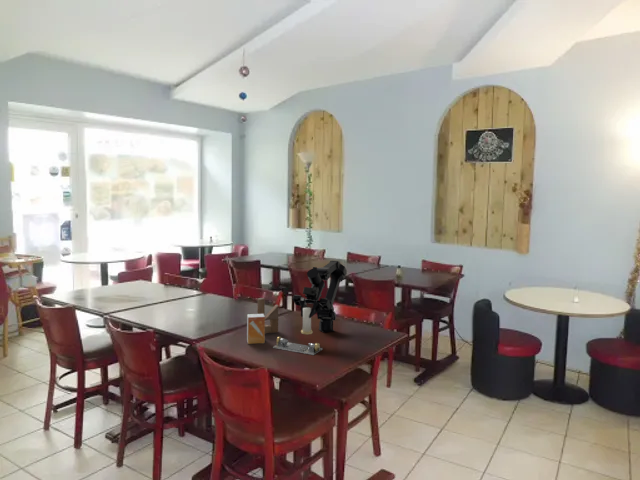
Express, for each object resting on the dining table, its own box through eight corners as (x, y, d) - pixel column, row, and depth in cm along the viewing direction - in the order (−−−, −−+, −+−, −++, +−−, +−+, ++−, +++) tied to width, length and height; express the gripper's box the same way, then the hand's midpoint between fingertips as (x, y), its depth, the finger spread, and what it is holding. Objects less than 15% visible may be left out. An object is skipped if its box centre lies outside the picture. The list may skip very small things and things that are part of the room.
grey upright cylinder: (313, 331, 227) (313, 307, 226) (311, 334, 221) (311, 309, 220) (302, 330, 228) (302, 306, 227) (299, 334, 222) (300, 309, 221)
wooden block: (278, 332, 243) (278, 298, 241) (258, 334, 239) (258, 299, 237) (276, 330, 246) (276, 296, 244) (256, 332, 242) (256, 298, 240)
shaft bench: (273, 347, 218) (273, 339, 217) (282, 342, 226) (283, 334, 225) (313, 355, 209) (313, 346, 208) (322, 349, 217) (322, 340, 216)
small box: (247, 344, 222) (247, 317, 221) (246, 340, 229) (246, 314, 227) (264, 343, 224) (265, 316, 223) (263, 339, 230) (263, 313, 229)
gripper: (294, 278, 230) (282, 305, 221) (328, 282, 222) (318, 310, 213) (301, 291, 238) (290, 317, 229) (335, 295, 230) (325, 322, 221)
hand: (305, 316), depth 223 cm, fingers closed on grey upright cylinder, 4 cm apart
